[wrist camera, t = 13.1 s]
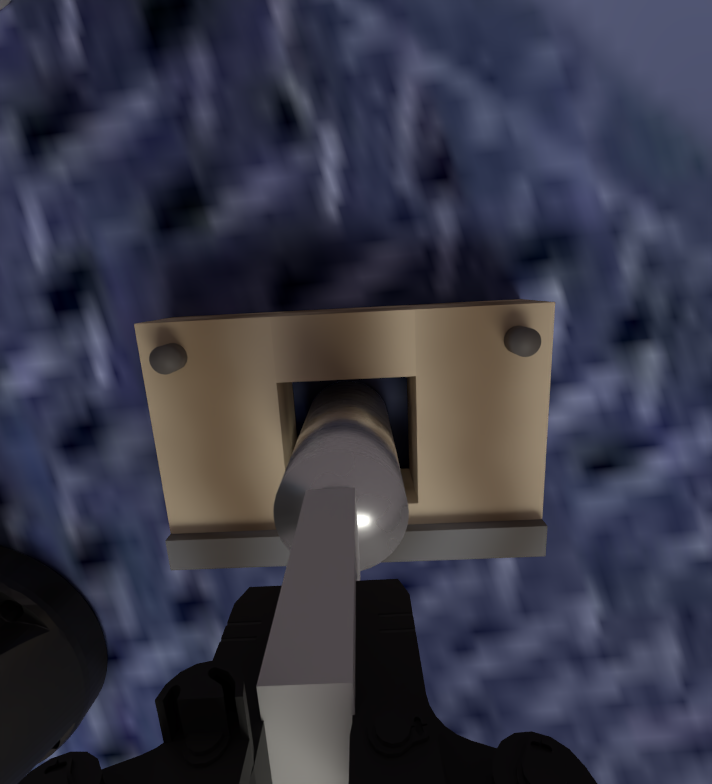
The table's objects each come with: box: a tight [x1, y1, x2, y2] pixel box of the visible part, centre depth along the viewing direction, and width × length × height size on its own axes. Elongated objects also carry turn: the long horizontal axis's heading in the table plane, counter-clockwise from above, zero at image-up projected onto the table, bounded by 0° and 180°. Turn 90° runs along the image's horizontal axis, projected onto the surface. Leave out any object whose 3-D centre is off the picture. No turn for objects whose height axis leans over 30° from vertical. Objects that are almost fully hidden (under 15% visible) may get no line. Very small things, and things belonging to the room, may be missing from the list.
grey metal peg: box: [273, 381, 409, 571], centre depth 19 cm, size 4×4×10 cm
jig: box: [134, 299, 555, 570], centre depth 21 cm, size 18×12×5 cm, turn 93°
